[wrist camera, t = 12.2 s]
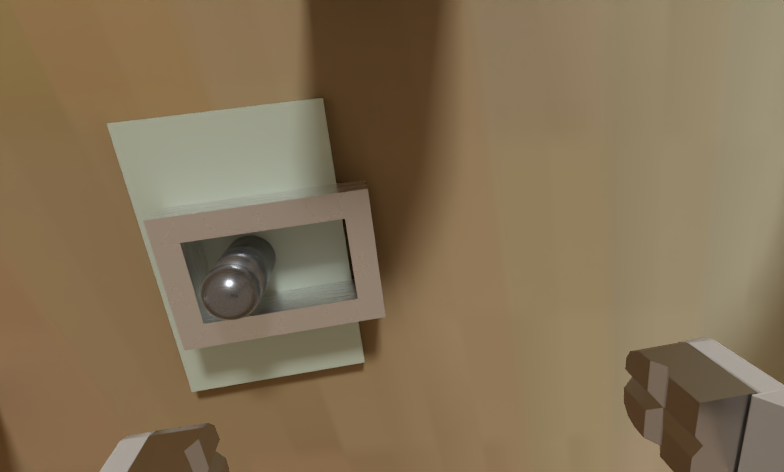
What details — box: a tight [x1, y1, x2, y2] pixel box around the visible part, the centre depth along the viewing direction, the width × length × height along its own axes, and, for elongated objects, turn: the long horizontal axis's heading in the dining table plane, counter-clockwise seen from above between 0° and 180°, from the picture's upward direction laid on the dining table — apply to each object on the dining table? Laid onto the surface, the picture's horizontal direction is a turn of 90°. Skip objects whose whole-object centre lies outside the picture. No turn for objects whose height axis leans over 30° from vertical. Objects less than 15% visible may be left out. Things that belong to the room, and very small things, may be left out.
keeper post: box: [201, 235, 276, 320], centre depth 23 cm, size 3×3×6 cm
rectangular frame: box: [143, 180, 386, 351], centre depth 25 cm, size 12×8×3 cm, turn 98°
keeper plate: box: [107, 98, 365, 392], centre depth 27 cm, size 12×18×1 cm, turn 7°
